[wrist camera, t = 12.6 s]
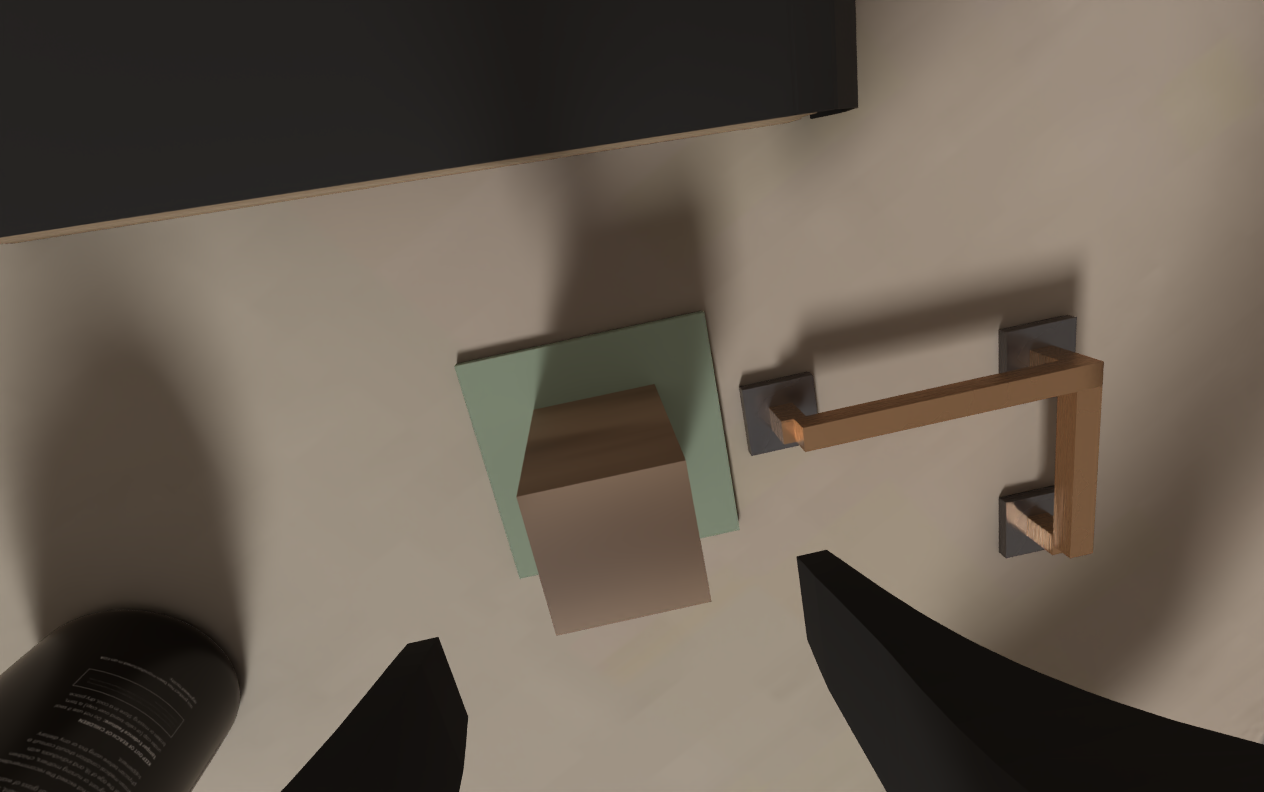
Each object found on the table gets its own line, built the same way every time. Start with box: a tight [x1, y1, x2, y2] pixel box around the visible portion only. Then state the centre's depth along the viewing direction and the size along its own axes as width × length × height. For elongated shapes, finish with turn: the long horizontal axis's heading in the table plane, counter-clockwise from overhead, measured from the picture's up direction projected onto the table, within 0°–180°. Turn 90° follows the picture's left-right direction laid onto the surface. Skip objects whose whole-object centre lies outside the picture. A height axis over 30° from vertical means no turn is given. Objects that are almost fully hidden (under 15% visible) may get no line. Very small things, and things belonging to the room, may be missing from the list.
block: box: [516, 384, 711, 636], centre depth 18 cm, size 4×4×6 cm
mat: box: [454, 311, 740, 579], centre depth 21 cm, size 8×8×1 cm
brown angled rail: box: [739, 315, 1104, 558], centre depth 21 cm, size 9×11×2 cm
